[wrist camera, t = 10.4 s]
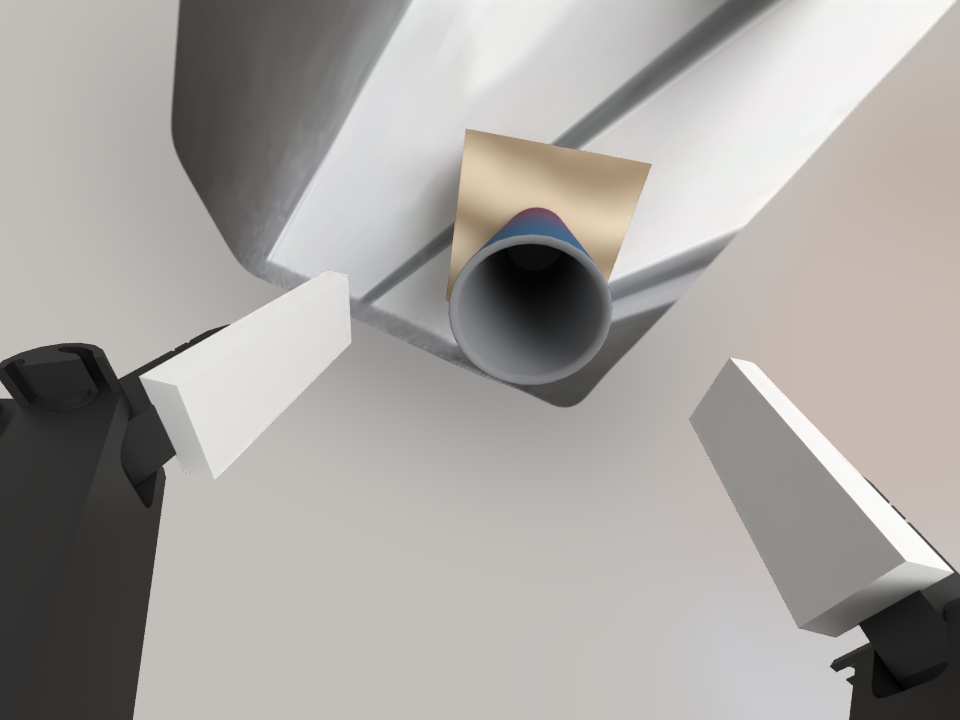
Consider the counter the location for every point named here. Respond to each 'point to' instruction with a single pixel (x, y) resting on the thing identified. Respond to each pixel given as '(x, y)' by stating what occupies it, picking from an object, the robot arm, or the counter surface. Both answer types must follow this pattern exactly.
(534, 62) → the counter surface
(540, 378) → the cup
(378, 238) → the counter surface
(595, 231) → the beige streaked flat-top fixture
